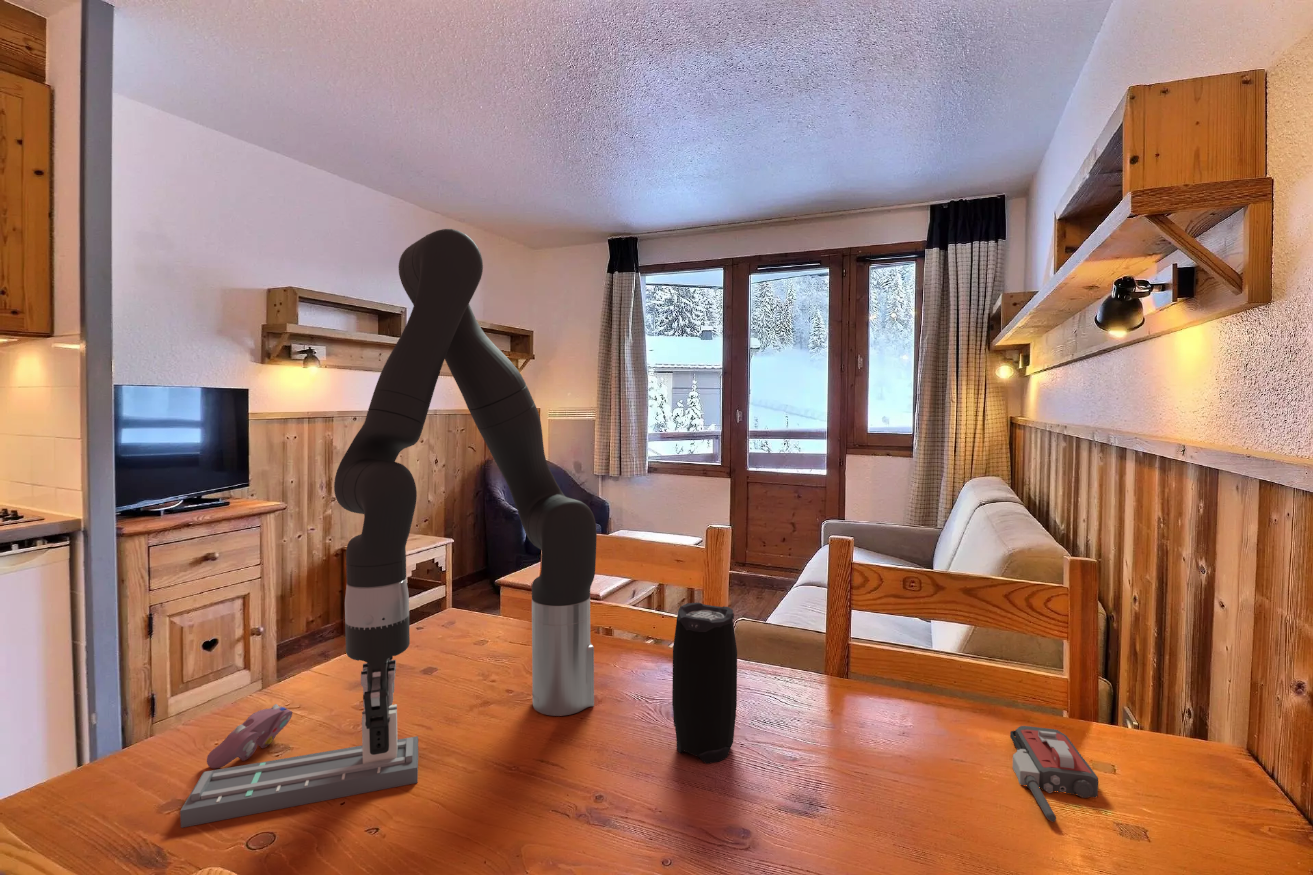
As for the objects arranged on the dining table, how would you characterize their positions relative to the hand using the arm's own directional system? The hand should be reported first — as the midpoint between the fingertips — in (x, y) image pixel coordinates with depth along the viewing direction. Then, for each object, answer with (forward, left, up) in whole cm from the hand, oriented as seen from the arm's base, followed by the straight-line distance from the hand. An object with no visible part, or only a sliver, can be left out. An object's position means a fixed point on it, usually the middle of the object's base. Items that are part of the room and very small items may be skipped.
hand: (380, 745), depth 82 cm
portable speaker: (-42, +9, -4) cm, 43 cm away
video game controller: (+17, -11, -4) cm, 21 cm away
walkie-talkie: (-81, +31, -4) cm, 87 cm away
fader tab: (0, 0, -2) cm, 2 cm away
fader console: (+8, 0, -4) cm, 9 cm away
